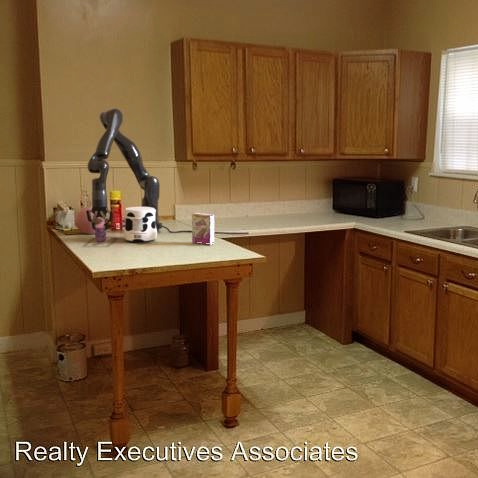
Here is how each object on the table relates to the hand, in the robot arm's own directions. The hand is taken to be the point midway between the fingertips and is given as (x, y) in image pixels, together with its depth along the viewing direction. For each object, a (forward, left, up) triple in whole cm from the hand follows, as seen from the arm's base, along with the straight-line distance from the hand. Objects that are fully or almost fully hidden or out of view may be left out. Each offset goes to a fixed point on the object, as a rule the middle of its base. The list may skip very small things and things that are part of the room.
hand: (100, 229), depth 321 cm
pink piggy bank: (+10, -20, -7) cm, 23 cm away
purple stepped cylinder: (0, 0, -4) cm, 4 cm away
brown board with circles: (0, 0, -7) cm, 7 cm away
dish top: (0, 0, -1) cm, 1 cm away
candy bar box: (-54, 0, -7) cm, 54 cm away
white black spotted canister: (-20, -4, -7) cm, 22 cm away
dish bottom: (0, 0, -6) cm, 6 cm away
